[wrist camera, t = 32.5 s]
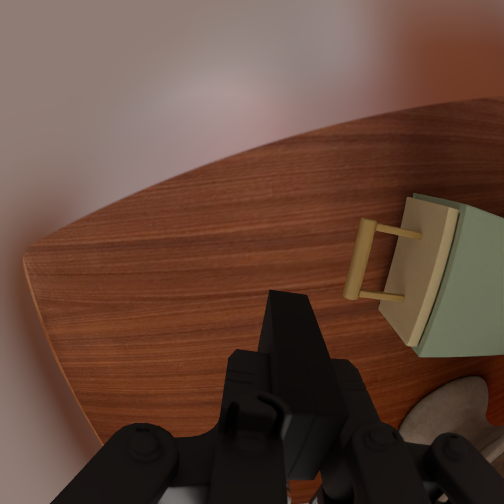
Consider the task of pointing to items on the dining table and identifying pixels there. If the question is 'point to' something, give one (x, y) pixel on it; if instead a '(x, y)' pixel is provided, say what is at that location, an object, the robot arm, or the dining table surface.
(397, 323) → the drawer
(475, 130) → the dining table surface
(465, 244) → the cabinet
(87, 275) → the dining table surface
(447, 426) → the bowl
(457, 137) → the dining table surface
